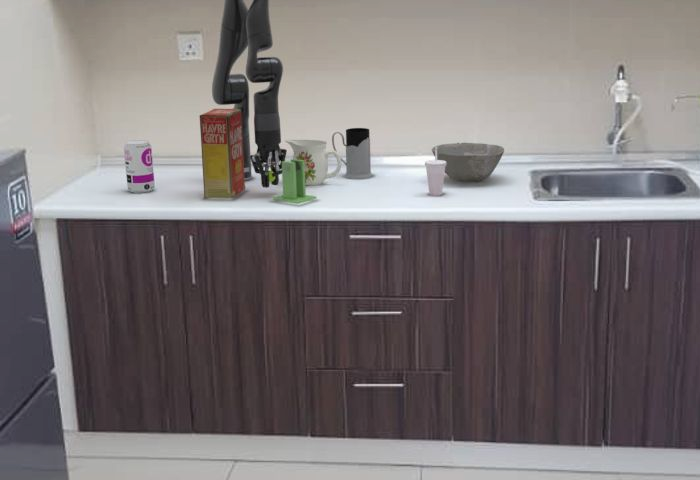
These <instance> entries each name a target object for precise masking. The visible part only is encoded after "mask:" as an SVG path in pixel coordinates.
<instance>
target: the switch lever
mask: <svg viewBox="0 0 700 480" xmlns="http://www.w3.org/2000/svg"><path fill="white" fill-rule="evenodd" d="M294 163H295V166H296V171H297V170H300V167H299V164H298V161H297V162H294ZM268 175H269V183H271V182H272V181H274V180H275V176H277V175H279V176H280V175H282V169H280V171H277V172H275V173H274V172H273V171H271V170H269V172H268Z"/></svg>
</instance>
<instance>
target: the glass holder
mask: <svg viewBox="0 0 700 480" xmlns="http://www.w3.org/2000/svg"><path fill="white" fill-rule="evenodd" d="M336 134H339V135H340V136H341V141H342V145H343V146H344V147H345V159H343V158H342V157H341V156H340V158H341V163H343V164H344V165H345V169H346V171H345V172H346V173H345V175H344V177H345V178H347V179H353V180H364V179H370V178H372V177H373V174H372V172H371V171H372V166H371V165H372V163H371V138H370V128H366V127H353V128H352V127H351V128H347V129H345V137H344V135H343V133H342V132H340V131H336V132H334V133H332V136H331V143H332V144H331V145H332V149H333V151H336V152H338V151H337V149H336V145H335V135H336Z"/></svg>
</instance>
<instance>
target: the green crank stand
mask: <svg viewBox="0 0 700 480" xmlns="http://www.w3.org/2000/svg"><path fill="white" fill-rule="evenodd" d="M297 161H298V164H299V167H300V170H297V171H296V166H295V163H294V162H297ZM281 170H282V174H281V178H282V194H281V195H280V194H279V195H277V196H274V197H272V200H273V201H280V202H286V203H293V204H298V205H299V204H302V203H306V202H309V201H312V200H315V199H317V196H315V195H308V194H307V192H306V190H307V189H306V185H305V165H304V160H297V159H293V158H291V159H290V161H286V160H285V161H283V162H282V169H281Z"/></svg>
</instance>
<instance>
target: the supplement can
mask: <svg viewBox="0 0 700 480" xmlns="http://www.w3.org/2000/svg"><path fill="white" fill-rule="evenodd" d="M123 153H124V164H125V173H126V174H125V175H126V185H127V186H126V187H127V190H128V191H129V192H130V193H134V194H143V193H144V194H145V193H150V192H152V191H154V189H156V183H155V175H154V174H155V173H154V162H153V161H154V160H153V149H152V145H151V144H150V141H149V140H146V139H137V140H136V139H135V140H129V141H126V142H125V144H124V147H123Z"/></svg>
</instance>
